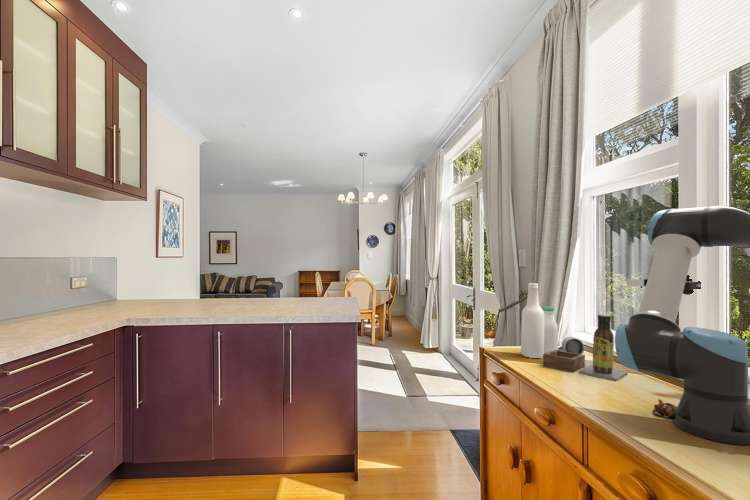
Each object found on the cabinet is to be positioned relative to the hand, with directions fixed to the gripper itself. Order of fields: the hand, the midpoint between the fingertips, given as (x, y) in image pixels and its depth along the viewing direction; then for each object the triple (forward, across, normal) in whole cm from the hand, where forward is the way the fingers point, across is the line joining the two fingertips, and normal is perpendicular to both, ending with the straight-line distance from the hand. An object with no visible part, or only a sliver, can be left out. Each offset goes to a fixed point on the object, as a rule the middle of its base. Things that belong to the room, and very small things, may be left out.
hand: (642, 283), depth 140 cm
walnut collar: (+20, +15, -32) cm, 40 cm away
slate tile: (+12, +5, -32) cm, 34 cm away
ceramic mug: (+5, +32, -32) cm, 46 cm away
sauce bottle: (+12, +5, -31) cm, 34 cm away
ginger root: (+20, -29, -33) cm, 49 cm away
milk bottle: (+14, +33, -32) cm, 48 cm away
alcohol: (+23, +31, -32) cm, 50 cm away
